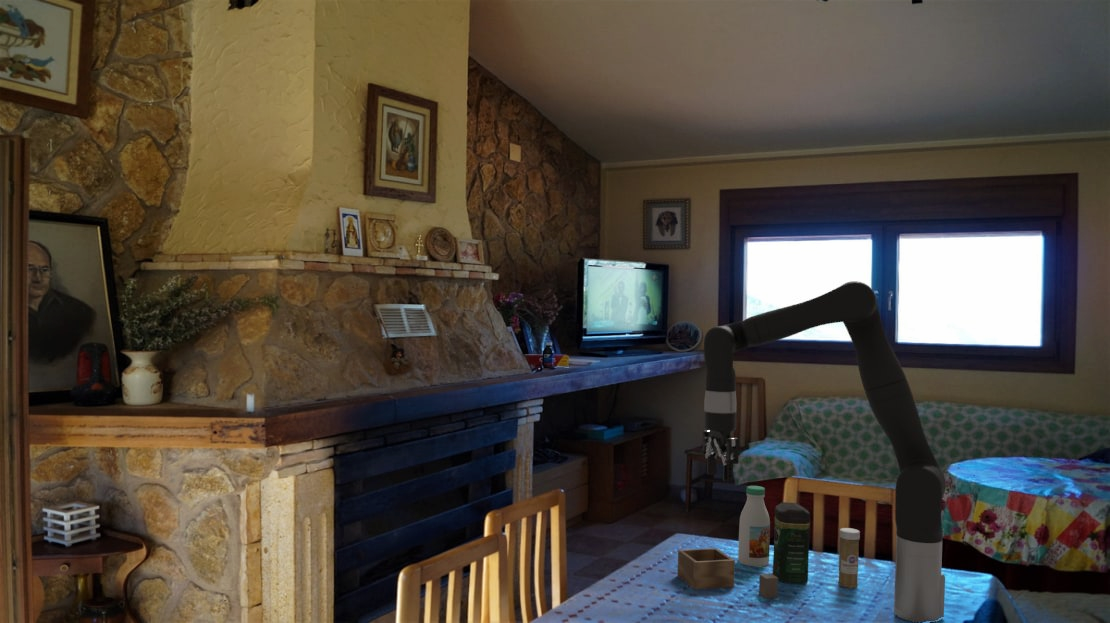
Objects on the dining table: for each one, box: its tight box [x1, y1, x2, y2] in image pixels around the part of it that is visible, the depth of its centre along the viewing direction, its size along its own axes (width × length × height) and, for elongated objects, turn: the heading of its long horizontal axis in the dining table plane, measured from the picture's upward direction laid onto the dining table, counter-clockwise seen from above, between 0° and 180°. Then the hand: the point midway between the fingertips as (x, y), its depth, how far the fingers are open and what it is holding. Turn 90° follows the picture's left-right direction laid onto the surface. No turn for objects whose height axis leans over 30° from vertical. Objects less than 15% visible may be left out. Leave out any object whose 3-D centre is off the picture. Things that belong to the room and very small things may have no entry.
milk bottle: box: [737, 485, 771, 567], centre depth 221 cm, size 8×8×20 cm
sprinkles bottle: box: [838, 527, 861, 589], centre depth 207 cm, size 5×5×14 cm
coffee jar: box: [772, 501, 811, 585], centre depth 210 cm, size 10×8×19 cm
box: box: [677, 547, 736, 590], centre depth 205 cm, size 10×10×7 cm
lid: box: [758, 573, 802, 606], centre depth 196 cm, size 11×11×6 cm
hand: (719, 477), depth 206 cm, fingers open, 8 cm apart
